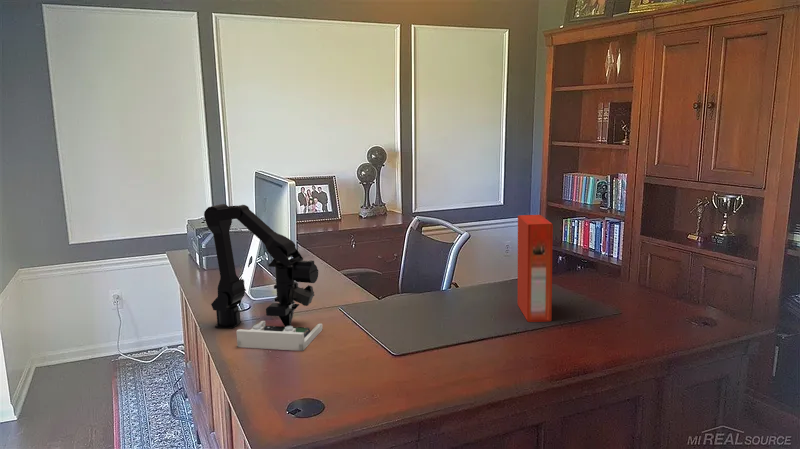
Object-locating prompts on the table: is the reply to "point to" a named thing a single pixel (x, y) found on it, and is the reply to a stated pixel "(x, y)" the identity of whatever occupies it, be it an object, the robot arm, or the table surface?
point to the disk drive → (281, 328)
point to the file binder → (535, 267)
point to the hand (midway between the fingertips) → (288, 328)
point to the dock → (275, 338)
